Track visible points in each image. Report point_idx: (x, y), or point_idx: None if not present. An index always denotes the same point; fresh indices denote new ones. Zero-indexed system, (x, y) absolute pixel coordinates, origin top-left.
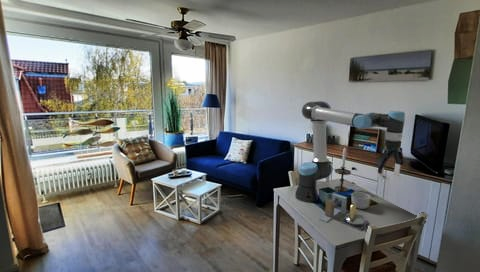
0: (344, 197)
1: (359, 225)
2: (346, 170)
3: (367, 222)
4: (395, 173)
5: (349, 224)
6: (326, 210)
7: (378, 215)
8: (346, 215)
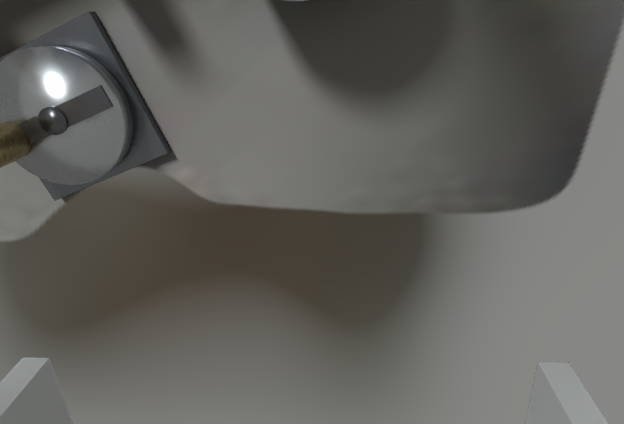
0: None
1: None
2: None
3: (150, 160)
4: (546, 421)
5: None
6: None
7: (326, 104)
8: (11, 64)
